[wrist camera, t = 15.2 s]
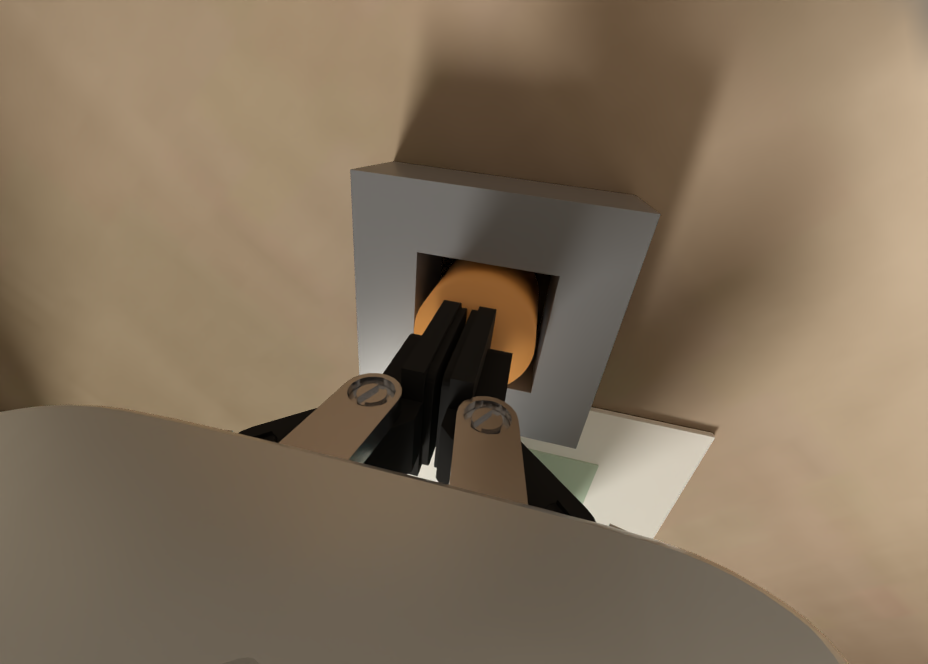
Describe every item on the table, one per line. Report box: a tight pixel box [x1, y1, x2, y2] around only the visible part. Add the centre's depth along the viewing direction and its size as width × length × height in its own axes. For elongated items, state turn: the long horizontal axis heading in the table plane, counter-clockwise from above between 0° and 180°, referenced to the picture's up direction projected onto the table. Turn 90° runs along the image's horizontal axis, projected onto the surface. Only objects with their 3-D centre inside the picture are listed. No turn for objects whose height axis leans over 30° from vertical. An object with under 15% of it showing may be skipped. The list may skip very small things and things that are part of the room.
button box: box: [350, 161, 661, 449], centre depth 14 cm, size 9×9×4 cm
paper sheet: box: [407, 407, 715, 539], centre depth 22 cm, size 16×18×1 cm
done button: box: [414, 259, 539, 384], centre depth 14 cm, size 4×4×4 cm
